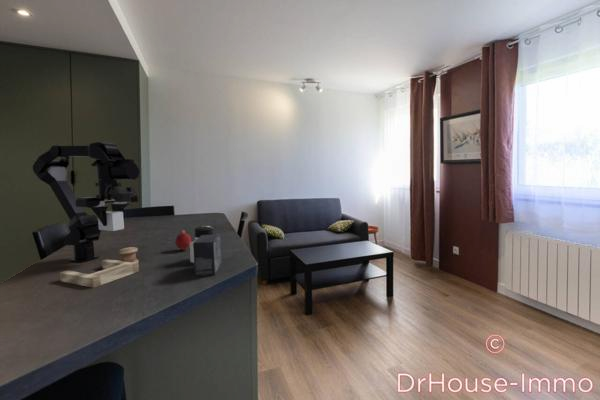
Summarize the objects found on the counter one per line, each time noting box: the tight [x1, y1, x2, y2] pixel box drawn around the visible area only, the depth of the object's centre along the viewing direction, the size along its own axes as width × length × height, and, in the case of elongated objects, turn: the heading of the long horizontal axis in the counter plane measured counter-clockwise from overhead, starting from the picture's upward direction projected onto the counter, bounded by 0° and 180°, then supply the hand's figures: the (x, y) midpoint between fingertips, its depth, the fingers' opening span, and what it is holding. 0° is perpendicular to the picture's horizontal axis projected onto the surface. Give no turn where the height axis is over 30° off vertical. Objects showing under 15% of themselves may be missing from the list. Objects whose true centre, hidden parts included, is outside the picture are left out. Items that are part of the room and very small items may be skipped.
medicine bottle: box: [189, 225, 214, 264], centre depth 102 cm, size 7×7×12 cm
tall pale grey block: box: [97, 210, 125, 232], centre depth 101 cm, size 7×4×6 cm, turn 70°
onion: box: [175, 230, 192, 251], centre depth 116 cm, size 6×6×8 cm
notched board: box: [59, 258, 140, 288], centre depth 88 cm, size 14×14×2 cm
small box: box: [192, 233, 223, 277], centre depth 92 cm, size 11×6×10 cm, turn 5°
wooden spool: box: [118, 246, 139, 264], centre depth 99 cm, size 6×6×5 cm
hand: (111, 224), depth 101 cm, fingers closed on tall pale grey block, 4 cm apart
